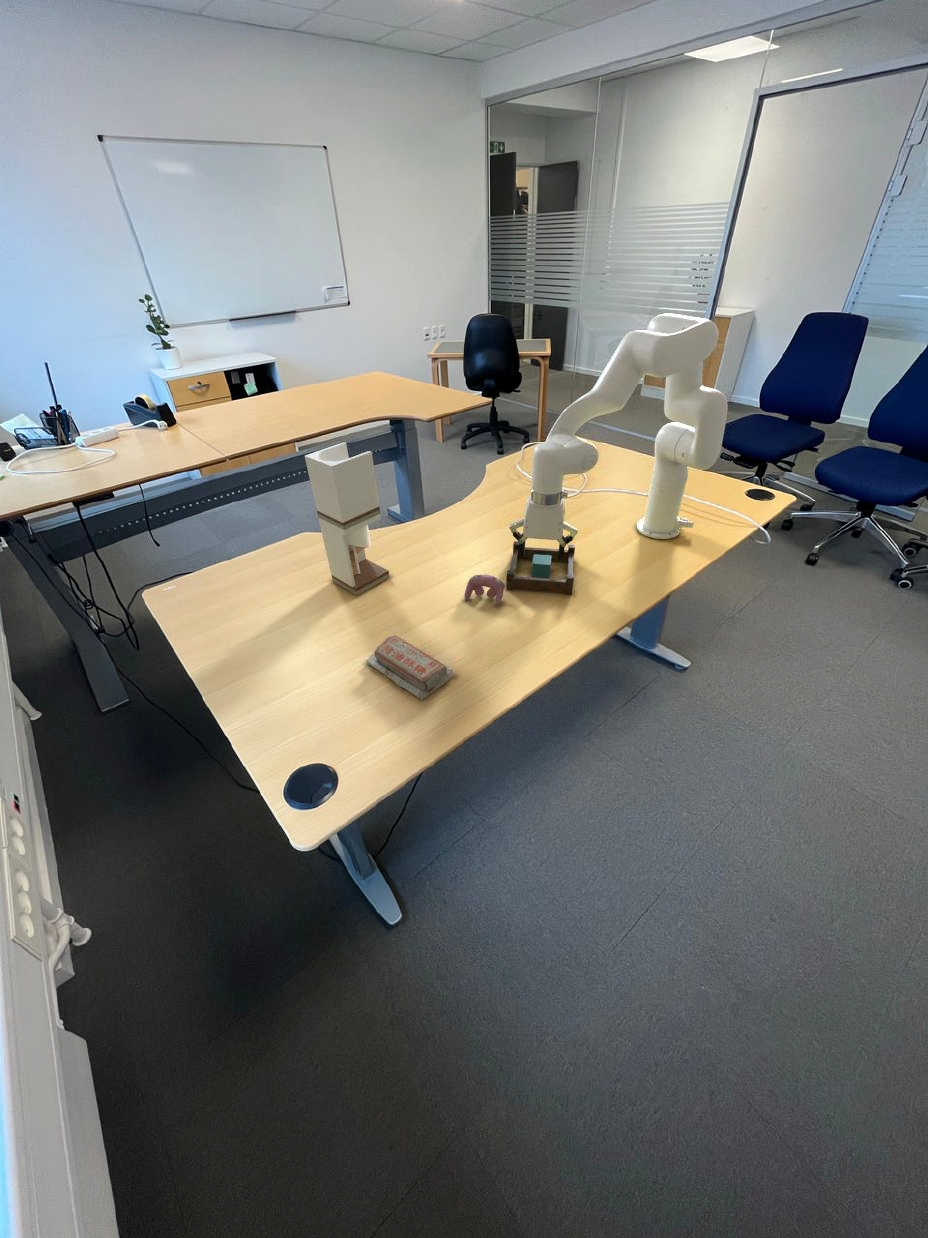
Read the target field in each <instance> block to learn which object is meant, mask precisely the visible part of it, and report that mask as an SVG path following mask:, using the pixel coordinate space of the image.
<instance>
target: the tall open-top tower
mask: <svg viewBox="0 0 928 1238" xmlns="http://www.w3.org/2000/svg"><path fill="white" fill-rule="evenodd" d="M348 451H349V450H348V446H347V442H345V441H344V442H340V443H338V444H335V445H332V446H329V447H326V448H322V449H320V450H317V451H314V452H312V453H309V454H305V455H304V459H305V464H306V468H307V473H308V478H309V482H310V486H311V491H312V496H313V500H314V504H315V509H316V512H317V517H318V522H319V526H320V531H321V535H322V536H321V537H322V540H323V544H324V549H325V553H326V558H327V561H328V566H329V571H330V575H331V580H332V582H333V583H335V584H337V585H338V586H340V587H341V588H343V589H345V590H347V591H349V592H350V593H352V594H353V595H355V596H358V595H360V594H363V593H364V592H365V591H367V590H369V589H371V588H372V587H375V586H376V585H378V584H380V583H382V582H384V581H385V580H387V579H388V578H390V570H388V569H386V568H385V567H383V566H380V565H379V564H377V563H375V562H373V561H371V560H369V559H367V556H366V555H367V554H366V550H365V549H367V548H372V543H371V536H370V530H369V525H371V524H372V523H375V522H377V521H379V520H381V519H382V515H381V514H382V513H381V506H380V500H379V493H378V486H377V479H376V473H375V472H376V471H375V465H374V458H373V452H372V451H371V450H368V451H365V452H361V453H360V454H357V455H355V456H351V457H349V452H348Z"/></svg>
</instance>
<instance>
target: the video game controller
mask: <svg viewBox="0 0 928 1238" xmlns="http://www.w3.org/2000/svg"><path fill="white" fill-rule="evenodd" d="M485 588H489V589H487V591H486V597H488V598H489V599H494V598H495V605H496V606H497V607H498V606H500V605H501V603H502V601H503V596H504V590H505V588H506V584H505V582H504V581H503V580H501V579H499V578H497V577H496V576H493V575H489V574H474V575H473V576H471V577H470V578H469V579H468V581H467V583H466V587H465V590H464V600H465V601H468V600H469V599H470V597H471V596H472V594H473V592H474V594H475V595H476V596H477V597H481V596H483V595H484V594H485Z"/></svg>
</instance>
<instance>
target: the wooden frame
mask: <svg viewBox="0 0 928 1238" xmlns="http://www.w3.org/2000/svg"><path fill="white" fill-rule="evenodd" d="M567 545H568V547H567V549H564V556H561V560H558V552H559V548H546V547H544V548H543V547H531V546H530V547H529V546H525V554H524V557H521V553H520V552H519V543H518V540H514V541H513V544H512V557H511V562H510V566H509V569H507V570H506V574H505V575H506V577H505V578H506V579H505V580H506V581H505V582H506V583H505V590H508V591H513V590H515V591H525V592H526V591H527V592H540V593H551V594H562V595H563V594H564V595H571V596H572V595H573V588H574V580H575V574H573V569H574V560H575V552H576V545H575V544H567ZM534 554H536V555H551V556H552V557H551V563H564V564H565V563H566V564H567V568H566V569H567V571H566V578H565V579H560V578H559V579H558V578H550V579H547V578H534V577H532V576H520V575H519V576H517V575H516V571H517V567H518V563H519V562H518V561H519V560H520V561H521V560H522V561H533V556H534Z"/></svg>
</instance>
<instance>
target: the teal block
mask: <svg viewBox="0 0 928 1238" xmlns="http://www.w3.org/2000/svg"><path fill="white" fill-rule="evenodd" d="M551 557H552V556H551V555H536V554H534V556H533V560H532V562H531V577H534V578H547V579H551V567H552V562H551Z"/></svg>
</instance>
